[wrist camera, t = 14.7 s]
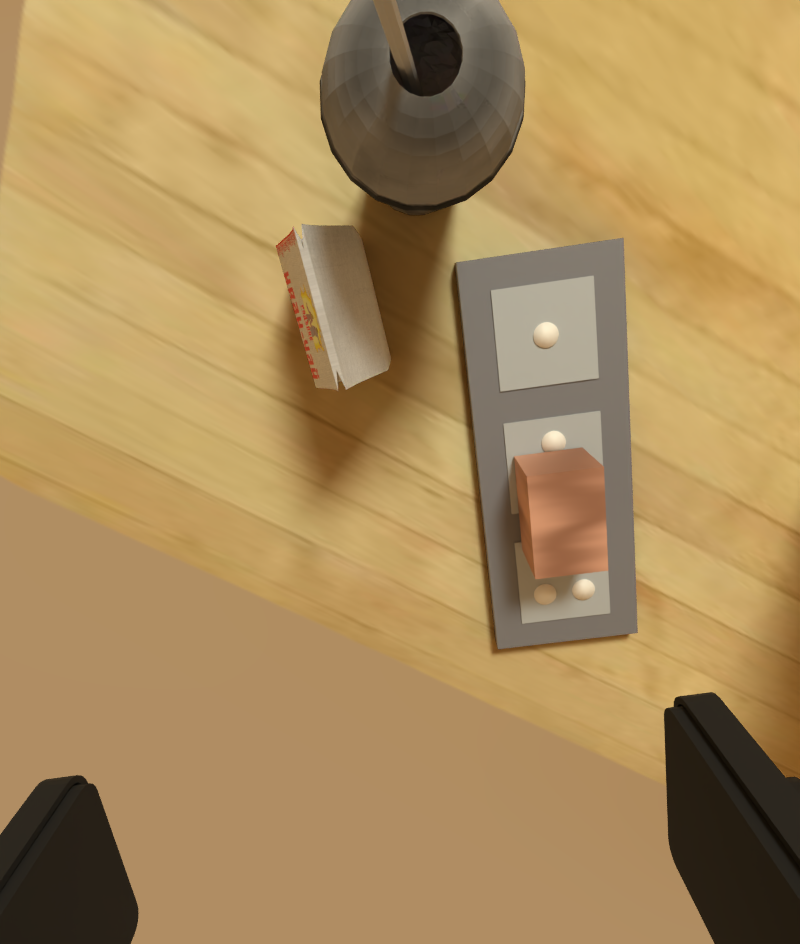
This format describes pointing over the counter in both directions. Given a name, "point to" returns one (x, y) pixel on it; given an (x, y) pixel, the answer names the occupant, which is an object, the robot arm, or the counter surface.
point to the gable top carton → (334, 304)
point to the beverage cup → (422, 98)
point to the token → (562, 512)
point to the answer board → (550, 424)
